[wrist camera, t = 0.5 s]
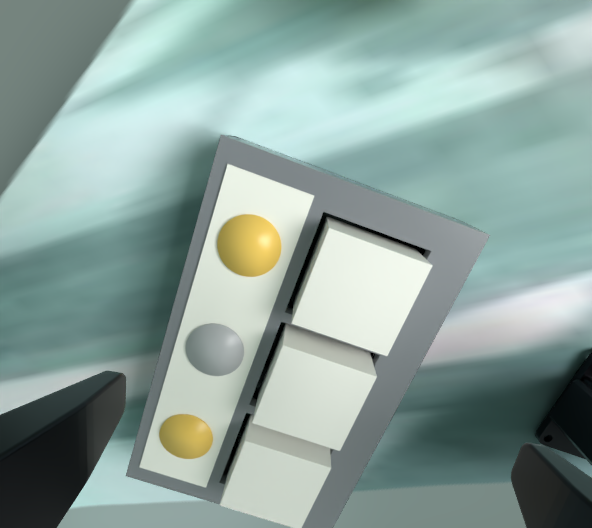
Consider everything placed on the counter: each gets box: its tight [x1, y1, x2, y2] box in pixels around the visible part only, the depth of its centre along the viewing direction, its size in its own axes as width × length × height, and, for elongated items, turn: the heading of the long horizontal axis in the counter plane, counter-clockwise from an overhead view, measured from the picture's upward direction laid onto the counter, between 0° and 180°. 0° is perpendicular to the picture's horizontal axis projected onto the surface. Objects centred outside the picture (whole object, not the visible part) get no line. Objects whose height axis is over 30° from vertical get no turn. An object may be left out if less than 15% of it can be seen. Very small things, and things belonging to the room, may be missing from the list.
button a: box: [291, 217, 433, 356], centre depth 17 cm, size 4×4×2 cm
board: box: [126, 135, 490, 528], centre depth 20 cm, size 12×19×3 cm, turn 160°
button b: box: [252, 323, 377, 451], centre depth 18 cm, size 4×4×2 cm
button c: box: [220, 414, 331, 528], centre depth 20 cm, size 4×4×2 cm
